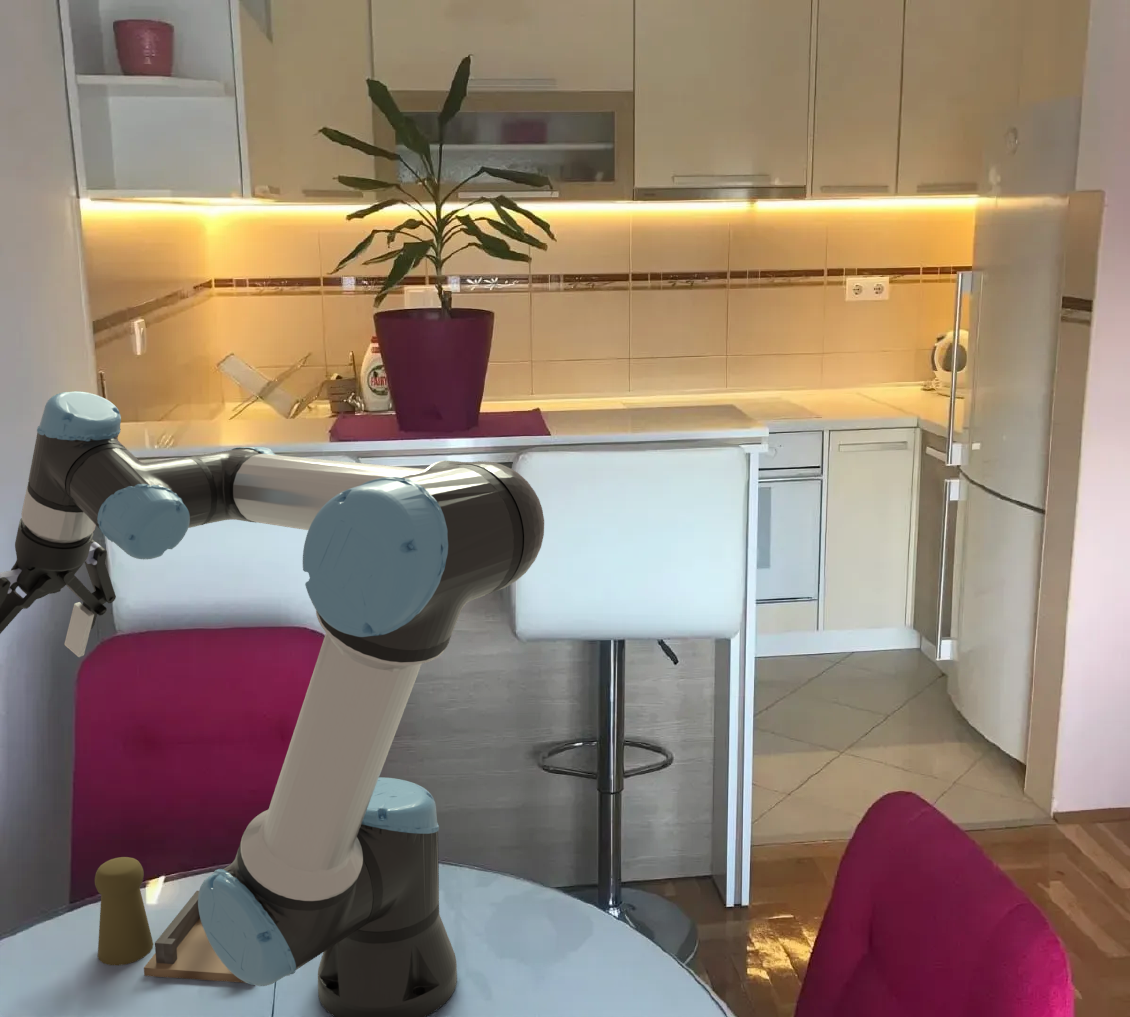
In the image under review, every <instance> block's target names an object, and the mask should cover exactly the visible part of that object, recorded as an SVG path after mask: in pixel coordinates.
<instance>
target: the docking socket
mask: <svg viewBox="0 0 1130 1017" xmlns="http://www.w3.org/2000/svg"><path fill="white" fill-rule="evenodd" d="M198 894H199V890H196V891H195V892H194V893H193V895H192V896H191V897H190V898H189V900H188V901H187V902H186V904H185V905H184V906H183V907H182V909H181V910H180V911H179V912H178V914H177V915H175V917H174V918H173V920H172V921H171V922H170V923H169V925H168V926H167V927H166V928H165V930H164V931H163V932H161V934H160V935H159V937H158V938H157V939H156V941H155V942H154V950H155V952H154V954H153V955H152V957H151V958H150V959H149V960H148V962H147V963H146V964H145V966H144V967H143V976H144V977H156V978H157V977H158V978H171V979H183V980H184V979H186V980H197V981H198V980H200V981H213V982H216V981H217V982H228V983H229V982H230V983H231V982H232V983H244V984H247V983H246V982H244V981H242V980H241V979H239V978H238V977H236V976H235V975H234V974H233V973H232V972H231V971H230V970H229V969H228V968H227V967H226V966H225V965H224V964H223V963H222V961H221V960H220V959H219V957H218V956H217V954H216V953H215V951H214V950H213V948H212V946H211V944H210V943H209V940H208V938H207V936H206V933H205V931H204V929H203V926H202V923H201V919H200V915H199V909H198Z"/></svg>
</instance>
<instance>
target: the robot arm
mask: <svg viewBox="0 0 1130 1017" xmlns="http://www.w3.org/2000/svg"><path fill="white" fill-rule="evenodd" d="M121 421H122V415H121V413H120V410H119V409H118V407H117V406H116V405H115V404H114V403H112V402H111V401H110V400H109V399H107V398H104V397H102V396H101V395H98V394H94V393H91V392H87V391H79V390H76V391H75V390H74V391H63V392H59V393H56V394H55V395H53V396H51V397H50V398H49V399H48V400H47V402H46V403H45V405H44V409H43V413H42V416H41V419H40V423H39V426H37V428H36V438H35V443H34V450H33V453H32V460H31V465H30V470H29V475H28V476H29V477H28V482H27V485H26V490H25V495H24V500H23V506H22V510H21V518H20V520H19V523H18V527H17V532H16V537H15V542H14V549H15V554H16V561H15V563H14V564H13V566H12V567H11V569H10V570H8V571H7V570H6V571H2V572H0V635H1V634H2V633H3V631H4V630H5V629H6V628H8V626H9V625H10V623H12V621H13V620H14V619H16V617H17V616H18V614H20V612H21V611H22V610H26V609H29V608H30V607H31V606H32V605H33V604H34V603H35V601H36V600H39V599H42V598H44V597H46V596H48V595H50V594H57V593H59V592H61V590H62V589H64V588H65V587H66V586H67V587H68V589H70V591H71V592H72V593H73V594H74V595H75V596H76V597H77V598H79V599H80V601H82V602H80V601H79V602H75V603H74V604H73V606H72V607H73V608H72V611H71V614H70V620H69V624H68V627H67V632H66V636H65V640H64V644H63V645H64V646H65V647H66V648H67V649H69V651H71V653H73V654H74V655H75V656H77V657H78V658H81V657H83V656H84V655H85V653H86V648H87V644H88V640H89V637H90V632H91V630H92V629H93V628H94V626H95V624H96V619H97V616H99V617H101V616H103V615H104V614H105V613H106V612H107V608H108V607H106V606H105V605H104V604H105V603H108V604H111V603H114V601H115V600H116V598H117V597H116V593H115V589H114V586H113V584H112V580H111V578H110V574H109V571H108V568H107V565H106V560H107V553H108V552H107V550H106V549H105V548H104V547H103V546H102V545H100V544H99V543H98V542H96V541H95V540H94V539H93V538H94V537H93V536H94V531H95V529H96V527H97V528H98V529H99V530H100V531H101V534H102V535H104V537H105V538H106V539H107V540H109V541H111V543H114V544H115V545H116V546H117V547H118V548H120V549H121V550H123V551H124V553H126V555H128V556H129V557H131V558H133V559H137V560H153V559H156V558H159V557H161V556H163V554H164V553H165V552H166V551H167V550H173V549H174V548H175V547H177V546H178V545H179V544H180V543H181V542H182V540H183V539H184V537H185V536H186V534H187V532H188V530H189V529H191V528H195V527H198V526H204V525H207V524H212V523H217V522H224V521H229V520H233V521H234V520H235V521H243V522H249V523H255V524H257V523H259V524H265V525H272V526H278V527H284V528H285V527H286V528H292V529H298V530H302V531H303V530H304V531H307V534H306V537H305V540H304V543H303V544H304V545H303V551H302V571H303V572H304V573H305V572H306V573H307V574H308V575H309V579H308V581H306V582H305V584H304V586H305V589H306V592H307V594H308V597H309V599H310V601H311V603H312V605H313V608H314V609H315V615H316V618H317V620H318V622H319V625H320V626H321V627H322V629H323V630H324V632H325V634H324V637H323V641H322V644H321V647H320V650H319V653H318V656H317V659H316V662H315V665H314V669H313V671H312V672H313V673H312V675H311V677H310V681H309V685H308V687H307V690H306V693H305V697H304V700H303V702H302V706H301V708H300V711H299V715H298V718H297V721H296V724H295V727H294V730H293V734H292V736H291V738H290V739H291V740H290V742H289V745H288V749H287V751H286V755H285V758H284V760H283V763H282V767H281V770H280V773H279V776H278V779H277V783H276V784H275V788H274V792H273V794H272V797H271V801H270V804H269V806H268V807H269V808H268V809H267V810H264V811H262V812H261V813H259V814H257V816H255V817H254V818H253V819H252V820H251V821H250V822H249V823H248V825H247V826H246V829H245V830H244V832H243V833H242V837H241V840H240V843H239V846H238V849H237V851H236V855H235V858H234V860H233V861H232V863H230V864H229V865H228V866H226V867H224V868H218V869H215V870H214V872H213V873H212V874H211V875H210V876H207V877H206V879H204V880H203V881H202V883H201V885H200V886H199V890H198V891H199V894H198V909H199V915H200V919H201V923H202V926H203V929H204V931H205V933H206V936H207V938H208V940H209V943H210V944H211V946H212V948H213V950H214V951H215V953H216V954H217V956H218V957H219V959H220V960H221V961H222V963H223V964H224V965H225V966H226V967H227V968H228V969H229V970H230V971H231V972H232V973H233V974H234V975H235V976H236V977H238V978H239V979H241V980H242V981H244V982H246V983H245V984H247V985H251V986H252V985H253V986H254V985H255V986H258V987H268V986H270V985H272V984H274V983H276V982H278V981H279V980H281V979H283V978H285V977H288V976H292V975H294V974H295V973H296V971H297V970H298V969H299V968H301V967H303V966H305V965H306V964H308V963H310V962H311V961H312V960H314V959H315V958H316V957H318V956H319V955H321V954H322V955H321V958H320V962H319V965H318V969H317V991H318V992H317V993H318V998H319V1001H320V1003H321V1006H323V1008H324V1009H325V1010H326V1011H327V1012H328V1013H329V1015H331V1016H333V1017H428V1016H429V1015H431V1014H433V1013H434V1012H436V1011H437V1010H439V1009H440V1008H441V1007H443V1005H445V1004H446V1003H447V1001H449V999H450V998H451V997H452V995H453V994H454V991H455V989H456V986H457V982H458V981H457V980H458V974H457V973H458V971H457V968H458V966H457V958H456V953H455V950H454V948H453V946H452V942H451V940H450V938H449V935H448V933H447V930H446V927H445V926H444V923H443V920H442V917H441V915H440V884H439V883H440V879H439V878H440V874H439V872H440V871H439V866H440V865H439V862H440V861H439V831H440V825H439V823H438V818H437V806H436V801H435V798H434V797H433V795H432V794H431V793H430V792H429V790H427V789H426V788H425V787H423V786H421V785H419V784H418V783H416V782H415V783H414V782H412V781H408V780H406V779H399V778H394V777H384V776H383V777H381V776H380V775H381V773H382V771H383V767H384V765H385V763H386V760H387V757H388V754H389V751H390V749H391V747H392V743H393V741H394V739H395V735H396V733H397V731H398V728H399V725H400V723H401V720H402V717H403V715H404V711H405V710H406V707H407V704H408V701H409V698H410V695H411V693H412V691H413V687H414V686H415V682H416V680H417V677H418V674H419V673H420V669H421V667H422V665H423V664H426V663H429V662H431V661H434V660H436V659H438V658H439V657H441V655H442V654H443V653H444V652H445V650H446V649H447V647H448V646H449V643H450V640H451V638H452V635H453V633H454V630H455V628H456V625H457V624H458V623H457V622H458V619H459V617H460V614H461V612H462V609H463V608H464V607H465V605H466V604H467V603H468V602H471V601H474V600H475V599H479V598H481V597H484V596H487V595H490V594H492V593H495V592H498V591H500V590H502V589H506V588H507V587H510V585H512V584H513V583H515V582H517V581H518V580H519V579H521V578H522V577H523V575H525V574H526V573H527V572H528V570H529V569H530V568H531V567H532V566H533V564H534V562H536V559H537V557H538V554H539V552H540V550H541V549H542V544H543V540H544V537H545V517H544V512H543V507H542V505H541V501H540V499H539V496H538V495H537V493H536V491H535V490H534V488H533V487H532V485H531V484H530V483H529V482H528V481H527V480H526V479H525V478H524V477H523V476H522V475H521V474H520V473H518V472H517V471H516V470H514V469H512V468H511V467H508V466H506V465H503V464H501V463H496V462H493V461H483V460H482V461H479V460H478V461H455V460H440V461H436V462H434V463H432V464H431V465H429V466H428V467H427V468H425V469H424V468H415V467H407V466H406V467H405V466H392V465H383V464H374V463H373V464H372V463H363V462H353V461H341V460H333V459H331V460H330V459H319V458H310V457H301V456H300V457H298V456H290V455H278V454H276V453H275V452H274V450H272V449H270V448H268V447H263V446H254V447H252V446H251V447H250V446H244V447H234V448H232V449H229V450H228V449H227V450H223V451H222V450H221V451H218V452H217V451H216V452H212V453H211V452H210V453H207V454H205V453H204V454H201V455H200V454H199V455H194V456H193V455H192V456H184V457H178V458H177V457H176V458H171V459H164V460H157V461H156V460H155V461H152V462H151V461H150V462H142V461H141V460H139V459H138V458H137V457H136V456H135V455H134V454H133V453H132V452H131V451H129V449H127V447H125V446H124V445H123V444H122V443H121V442H120V441H119V435H120V433H121V423H122V422H121ZM83 565H85V567H86V571H87V574H88V576H89V579H90V582H91V585H92V588H93V590H94V591H93V592H91V591H90V590H89V589H88V588H87V587H86V586H85V585H84V583H82V581H81V580H80V579H79V578H78V577H77V576H76V574H77V572H78V571H79V570H80V568H81V567H82V566H83ZM18 587H19V589H20V590H21V591H22V592H23V593H24V594H26V595H25V596H24V597H22V596H21V594H20V593H18V592H17V590H16V589H17V588H18Z"/></svg>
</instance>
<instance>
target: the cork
mask: <svg viewBox="0 0 1130 1017" xmlns="http://www.w3.org/2000/svg"><path fill="white" fill-rule="evenodd" d="M144 875H145V874H144V867H143V866H142V864H141V863H140V861H139V860H137V859H136V858H134V857H128V856H121V857H115V858H111V859H108V860H106V861H105V862H104V863H102V864H100V866H99V867H98V868H97V870H96V872H95V876H94V886H95V888H96V890H97V893H98V894H100V910H99V913H100V914H99V924H98V925H99V928H98V942H97V944H98V945H97V958H98V961H99V962H101V963H102V964H104V965H108V966H123V965H124V966H125V965H128V964H132V963H135V962H137V961H140V960H141V959H143V958H145V957H146V956H148V954H150V953H151V951H152V950H153V949H154V941H153V937H152V933H151V929H150V925H149V920H148V916H147V912H146V909H145V905H144V904H145V903H144V901H143V896H142V892H141V885H142V884H143V880H144Z"/></svg>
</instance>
